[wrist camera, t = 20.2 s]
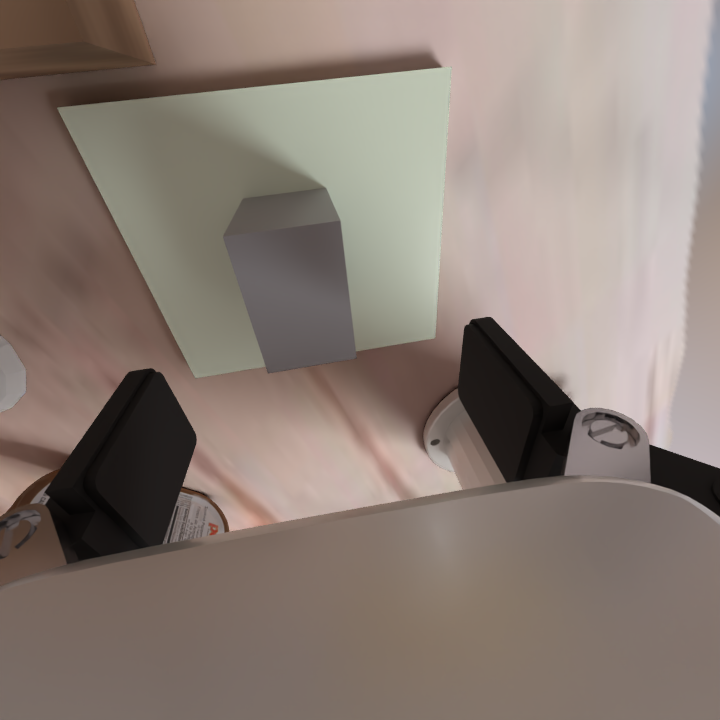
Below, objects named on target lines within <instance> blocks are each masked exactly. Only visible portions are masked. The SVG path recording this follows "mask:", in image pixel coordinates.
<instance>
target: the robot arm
mask: <svg viewBox="0 0 720 720" xmlns="http://www.w3.org/2000/svg"><path fill="white" fill-rule="evenodd" d="M423 440H424V446H425V448H426V451H427V453H428V456H429V458H430V459H431V460H432V461H433V463H435V464H436V465H437V466H439V467H440V468H442V469H445V470H447V471H451V472H455V474H456V476H457V478H458V480H459V483H460V485H461V487H462V489H463V490H459V491H454V492H448V493H442V494H437V495H431V496H425V497H419V498H414V499H408V500H402V501H397V502H391V503H385V504H380V505H374V506H368V507H363V508H357V509H352V510H346V511H341V512H335V513H330V514H324V515H318V516H313V517H307V518H302V519H296V520H291V521H285V522H280V523H274V524H269V525H264V526H258V527H253V528H247V529H242V530H237V531H231V532H226V533H220V534H215V535H210V536H204V537H199V538H194V539H188V540H183V541H178V542H172V543H167V544H163V541H164V538H165V535H166V533H167V530H168V527H169V524H170V521H171V518H172V515H173V512H174V509H175V506H176V503H177V500H178V497H179V494H180V491H181V488H182V485H183V482H184V479H185V476H186V473H187V470H188V467H189V464H190V461H191V458H192V455H193V452H194V449H195V446H196V441H197V439H196V434H195V431H194V430H193V428H192V426H191V424H190V422H189V421H188V419H187V417H186V415H185V414H184V412H183V410H182V408H181V406H180V405H179V403H178V401H177V399H176V397H175V396H174V394H173V392H172V390H171V388H170V387H169V385H168V383H167V381H166V380H165V378H164V376H163V375H162V373H160V372H156V371H155V370H154V369H151V368H150V369H143V370H136V371H131V372H129V373H128V374H127V375H126V376H125V378H124V379H123V381H122V382H121V383H120V385H119V386H118V388H117V389H116V391H115V392H114V393H113V395H112V396H111V398H110V399H109V401H108V402H107V403H106V405H105V406H104V408H103V409H102V411H101V412H100V413H99V415H98V416H97V418H96V419H95V420H94V422H93V423H92V425H91V426H90V428H89V429H88V430H87V432H86V433H85V435H84V436H83V438H82V439H81V440H80V442H79V443H78V445H77V446H76V448H75V449H74V450H73V452H72V453H71V455H70V456H69V457H68V459H67V460H66V462H65V463H64V465H63V466H62V467H61V469H60V470H59V472H58V473H57V475H56V476H55V477H54V479H53V480H52V482H51V483H50V485H49V486H48V487H47V489H46V490H45V492H44V493H46V494H47V495H48V496H49V497H50V498H49V499H48V501H47V502H46V504H45V505H43V504H40V503H34V504H27V505H24V506H21V507H18V508H15V509H13V510H11V511H9V512H7V513H5V514H3V515H2V516H0V720H720V469H719V468H717V467H714V466H711V465H708V464H705V463H702V462H699V461H696V460H693V459H690V458H687V457H684V456H682V455H679V454H676V453H673V452H670V451H667V450H664V449H661V448H658V447H655V446H652V445H650V444H649V439H648V436H647V433H646V432H645V431H644V429H643V428H642V427H641V426H640V425H639V424H638V423H636V422H635V421H634V420H633V419H631V418H629V417H627V416H625V415H624V414H621V413H619V412H616V411H613V410H609V409H604V408H588V409H584V410H582V411H581V410H580V409H579V408H578V407H577V406H576V405H575V404H574V402H573V401H572V400H571V399H570V398H569V397H568V396H567V395H566V394H565V393H564V392H563V391H562V390H561V389H560V388H559V387H558V386H557V385H556V384H555V383H554V382H553V381H552V380H551V379H550V378H549V376H548V375H547V374H546V373H545V372H544V371H543V370H542V369H541V368H540V367H539V366H538V365H537V364H536V363H535V362H534V361H533V360H532V359H531V358H530V357H529V356H528V355H527V354H526V353H525V352H524V351H523V350H522V348H521V347H520V346H519V345H518V344H517V343H516V342H515V341H514V340H513V339H512V338H511V337H510V336H509V335H508V334H507V333H506V332H505V331H504V330H503V329H502V328H501V327H500V326H499V325H498V324H497V323H496V321H495V320H494V319H493V318H491V317H485V318H478V319H472V320H471V321H470V323H469V325H466V326H465V328H464V335H463V345H462V355H461V364H460V374H459V384H458V388H457V389H455V390H454V391H453V392H451V393H450V394H449V395H448V396H447V397H445V398H444V399H443V400H442V401H441V402H440V403H439V405H438V406H437V407H436V408H435V409H434V410H433V412H432V414H431V415H430V417H429V418H428V420H427V423H426V425H425V428H424V434H423Z"/></svg>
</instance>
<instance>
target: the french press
mask: <svg viewBox="0 0 720 720" xmlns="http://www.w3.org/2000/svg"><path fill="white" fill-rule="evenodd" d="M25 392H26V369H25V367H24V365H23V364H22V362H21V360H20V359H19V357H18V356H17V354H16V352H15V351H14V349H13V347H12V346H11V344H10V343H9V342H8V341H7V340H5V339H4V338H3V337H2V336H1V335H0V412H3V411H5V410H8V409H11V408H12V407H13V406H14V405H15V404H16V403H17V402H18V401H19V399H20V398H21V397H22V396H23V395H24V394H25Z"/></svg>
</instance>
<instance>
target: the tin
mask: <svg viewBox="0 0 720 720" xmlns="http://www.w3.org/2000/svg"><path fill="white" fill-rule="evenodd" d="M59 470H60V469H58V470H56V471H53V472H51V473H49V474H47V475H45V476H43V477H41V478H40V479H38V480H37V481H35V482H34V483H33V484H32V485H30V486H29V487H28V488H27V489H26V490H25V491H24V492H23V493H22V494H21V495H20V496H19V497H18V498H17V500H16V501H15V502H14V504H13V505H12V506H11V508H10V509H9V510H8V511H7V512H9V511H11V510H13V509H15V508H18V507H21V506H24V505H27V504H34V503H40V504H43V505H45V504H46V502H47V501H48V499H49V498H50V497H49V496H48V495H47V494H46V493H44V492H45V490H46V489H47V487H48V486H49V485H50V483H51V482H52V480H53V479H54V477H55V476H56V475H57V473H58V472H59ZM7 512H6V513H7ZM226 532H229V526H228V522H227V520H226V518H225V516H224V514H223V512H222V511H221V509H220V508H219V507H218V506H217V505H216V504H215V503H214V502H213V501H212V500H211V499H209V498H208V497H206V496H205V495H202V494H200V493H198V492H195V491H191V490H188V489H185V488H181V491H180V494H179V497H178V500H177V503H176V506H175V509H174V512H173V515H172V518H171V521H170V524H169V527H168V530H167V533H166V535H165V538H164V541H163V544H167V543H172V542H178V541H183V540H188V539H194V538H199V537H204V536H210V535H215V534H220V533H226Z"/></svg>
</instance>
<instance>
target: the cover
mask: <svg viewBox="0 0 720 720" xmlns="http://www.w3.org/2000/svg"><path fill="white" fill-rule="evenodd" d="M451 70H452V67H442V68H432V69H423V70H413V71H404V72H394V73H384V74H375V75H365V76H356V77H346V78H336V79H327V80H317V81H308V82H298V83H288V84H279V85H269V86H260V87H250V88H240V89H231V90H221V91H212V92H202V93H192V94H183V95H173V96H164V97H154V98H144V99H135V100H125V101H116V102H106V103H96V104H87V105H77V106H68V107H58V108H57V109H58V111H59V113H60V115H61V117H62V119H63V121H64V123H65V125H66V127H67V129H68V131H69V133H70V135H71V137H72V138H73V140H74V142H75V144H76V146H77V148H78V150H79V152H80V154H81V156H82V158H83V160H84V162H85V164H86V166H87V168H88V170H89V172H90V174H91V176H92V178H93V180H94V182H95V183H96V185H97V187H98V189H99V191H100V193H101V195H102V197H103V199H104V201H105V203H106V205H107V207H108V209H109V211H110V213H111V215H112V217H113V219H114V221H115V223H116V225H117V227H118V228H119V230H120V232H121V234H122V236H123V238H124V240H125V242H126V244H127V246H128V248H129V250H130V252H131V254H132V256H133V258H134V260H135V262H136V264H137V266H138V268H139V270H140V271H141V273H142V275H143V277H144V279H145V281H146V283H147V285H148V287H149V289H150V291H151V293H152V295H153V297H154V299H155V301H156V303H157V305H158V307H159V309H160V311H161V313H162V315H163V316H164V318H165V320H166V322H167V324H168V326H169V328H170V330H171V332H172V334H173V336H174V338H175V340H176V342H177V344H178V346H179V348H180V350H181V352H182V354H183V356H184V358H185V360H186V361H187V363H188V365H189V367H190V369H191V371H192V373H193V375H194V377H195V379H196V378H202V377H208V376H213V375H219V374H225V373H231V372H237V371H243V370H249V369H255V368H261V367H266V369H267V372H268V373H274V372H280V371H285V370H291V369H297V368H303V367H309V366H315V365H321V364H327V363H333V362H338V361H344V360H350V359H356V358H357V357H356V351H362V350H368V349H374V348H380V347H386V346H392V345H398V344H404V343H410V342H416V341H422V340H428V339H434V338H435V334H436V317H437V301H438V284H439V268H440V251H441V235H442V218H443V202H444V185H445V169H446V152H447V136H448V119H449V103H450V86H451Z"/></svg>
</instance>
